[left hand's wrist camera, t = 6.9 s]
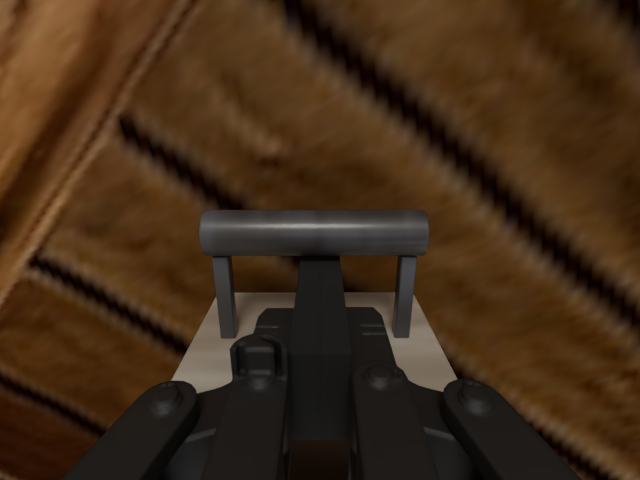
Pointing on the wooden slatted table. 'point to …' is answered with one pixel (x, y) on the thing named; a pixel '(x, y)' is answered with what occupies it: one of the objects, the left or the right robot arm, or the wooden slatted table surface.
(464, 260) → the wooden slatted table surface
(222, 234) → the drawer
